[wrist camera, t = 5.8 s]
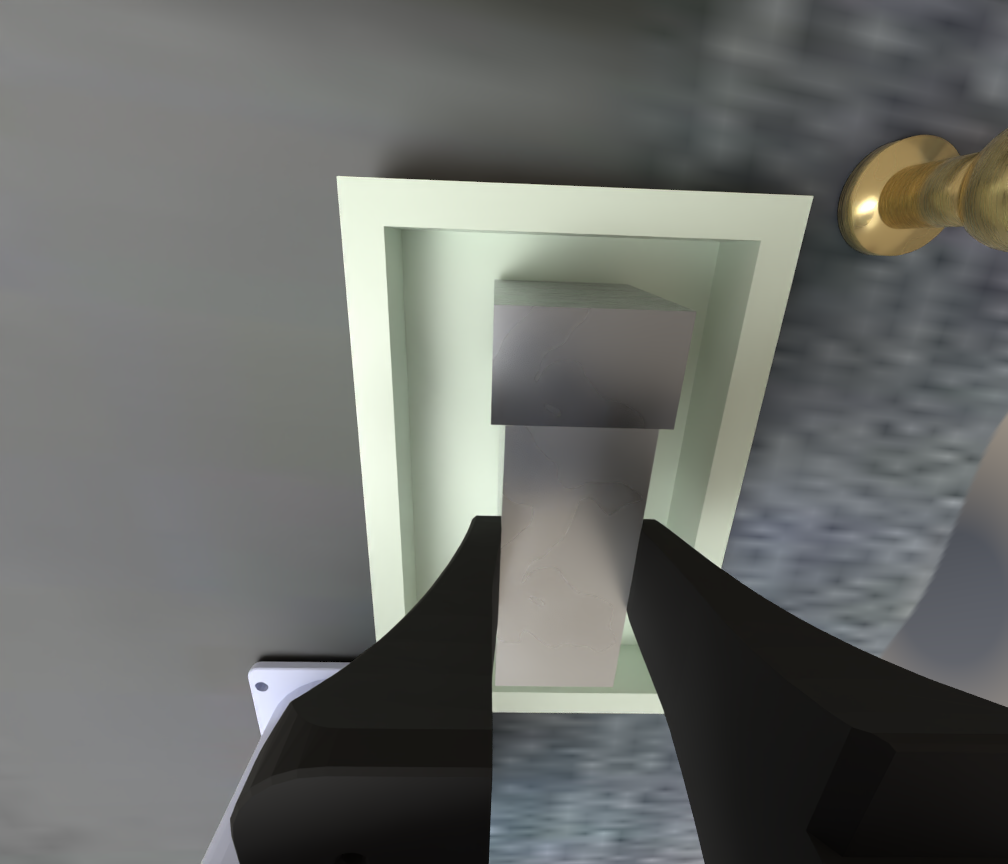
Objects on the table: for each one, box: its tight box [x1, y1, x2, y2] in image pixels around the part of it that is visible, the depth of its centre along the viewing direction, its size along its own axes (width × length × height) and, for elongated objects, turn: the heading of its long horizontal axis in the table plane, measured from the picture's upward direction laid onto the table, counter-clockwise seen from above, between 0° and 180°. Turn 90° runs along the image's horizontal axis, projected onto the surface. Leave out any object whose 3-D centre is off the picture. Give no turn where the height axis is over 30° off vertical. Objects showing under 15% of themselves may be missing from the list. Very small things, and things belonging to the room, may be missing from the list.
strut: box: [491, 280, 696, 687], centre depth 13 cm, size 10×4×5 cm, turn 178°
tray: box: [337, 176, 813, 714], centre depth 15 cm, size 17×11×3 cm, turn 178°
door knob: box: [838, 128, 1008, 256], centre depth 11 cm, size 3×3×6 cm
